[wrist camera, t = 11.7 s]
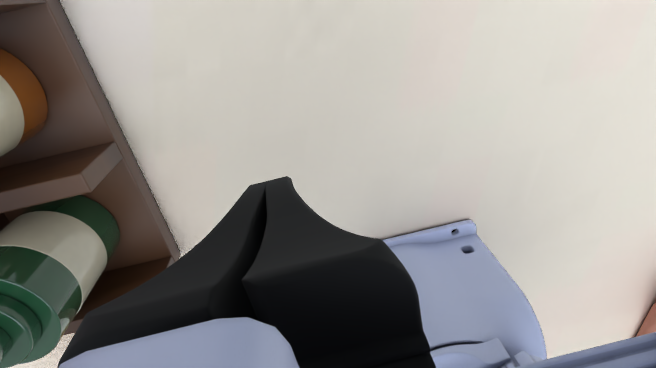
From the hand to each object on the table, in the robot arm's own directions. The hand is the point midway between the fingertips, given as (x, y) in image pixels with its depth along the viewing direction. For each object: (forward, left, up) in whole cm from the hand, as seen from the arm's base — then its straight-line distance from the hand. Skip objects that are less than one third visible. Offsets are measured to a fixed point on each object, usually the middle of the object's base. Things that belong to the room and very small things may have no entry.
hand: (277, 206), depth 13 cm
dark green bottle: (+13, +4, -9) cm, 16 cm away
